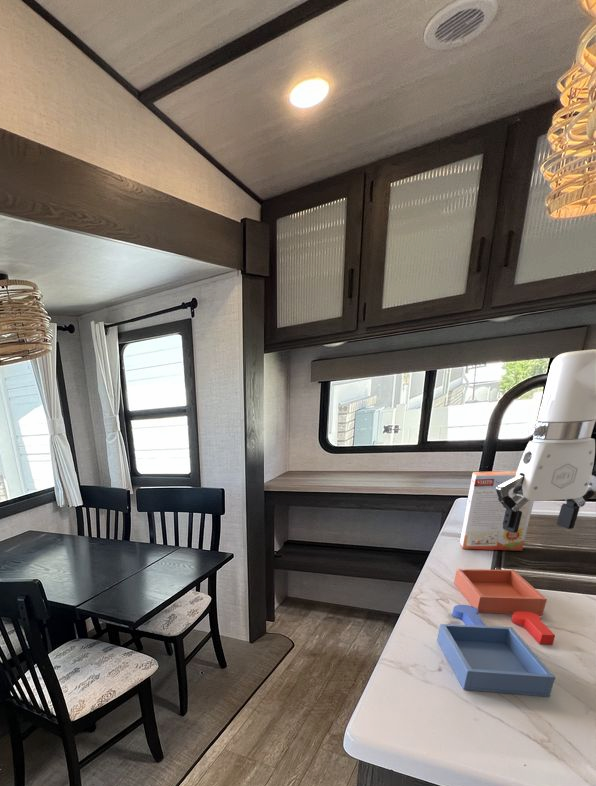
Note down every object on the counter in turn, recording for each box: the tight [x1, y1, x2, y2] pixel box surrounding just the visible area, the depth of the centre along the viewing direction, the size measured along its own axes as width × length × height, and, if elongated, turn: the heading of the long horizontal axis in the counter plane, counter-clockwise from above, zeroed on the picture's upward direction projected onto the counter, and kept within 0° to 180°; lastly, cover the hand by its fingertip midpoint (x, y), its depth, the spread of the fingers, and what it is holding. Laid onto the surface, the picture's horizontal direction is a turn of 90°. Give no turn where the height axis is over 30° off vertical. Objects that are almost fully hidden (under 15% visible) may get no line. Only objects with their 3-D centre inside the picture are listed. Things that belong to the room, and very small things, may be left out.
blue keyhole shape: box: [451, 604, 487, 626], centre depth 95 cm, size 11×4×2 cm, turn 163°
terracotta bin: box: [453, 568, 548, 616], centre depth 103 cm, size 12×17×4 cm
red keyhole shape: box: [511, 611, 556, 646], centre depth 90 cm, size 11×4×2 cm, turn 163°
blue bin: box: [436, 623, 556, 698], centre depth 80 cm, size 12×17×4 cm
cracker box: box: [459, 470, 535, 552], centre depth 128 cm, size 14×6×21 cm, turn 65°
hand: (536, 528), depth 86 cm, fingers open, 9 cm apart
